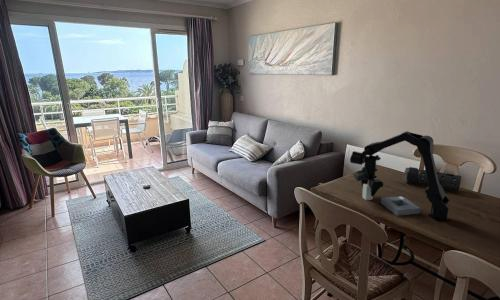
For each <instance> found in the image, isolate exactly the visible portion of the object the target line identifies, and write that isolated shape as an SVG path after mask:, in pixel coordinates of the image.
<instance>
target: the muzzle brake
mask: <svg viewBox="0 0 500 300" xmlns="http://www.w3.org/2000/svg"><path fill="white" fill-rule="evenodd" d="M437 176H438V180H439V183H440V185H441V186H442V188H443V190H444V191H448V192H453V193H458V192H460V188H461V183H462V175H458V174H452V173H447V172H440V171H437ZM403 181H406V182H408V183H410V184H411V183H412V184H415V185H417V186H427V187H428V186H429V184H428V179H427V175H426V170H425V169H422V168H421V169H419V168H417V167H413V166H409V167H405V169H404V172H403Z"/></svg>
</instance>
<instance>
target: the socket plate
mask: <svg viewBox="0 0 500 300" xmlns="http://www.w3.org/2000/svg"><path fill="white" fill-rule="evenodd" d="M380 199H381V201H380V203H381V205H382V206H384V207H385V208H386V209H388V210H389V211H390V212H392V213H393V214H394V215H395V216H398V217H399V216H407V215H409V216H410V215H419V214H420V213H421V207H419V206H418V205H416V204H415V203H413V201H412V202H411V200H409V199H408V198H406V197H405V196H402V195H400V196H390V197H381V198H380Z"/></svg>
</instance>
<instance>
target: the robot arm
mask: <svg viewBox="0 0 500 300" xmlns="http://www.w3.org/2000/svg"><path fill="white" fill-rule="evenodd" d="M402 142H407V143H408V144H410V145H413V146H415V147H416V148H417V150H418V152H419V154H420V156H422V161H423V164H424V165H423V166H424V170H426V175H427V179H428V184H429V186H427V187H426V188H425V189H424V192H425V194H426V197H425V198H426V199H428V201H429V203H431V209H430V213H427V215H428V216H429V217H430V218H432V219H433V220H435V221H436V222H442V221H443V222H444V221H450V218H449V217H448V212H449V207H448V205H449V204H450V202H451V200H450V199H449V197H448V196H447V195H446V192H445V190H443V188H442V186H441V185H440V183H439V180H438V176H437V172H438V171H437V167H436V162H435V159H434V139H433V137H432V136H430V135H422V134H418V133H414V132H411V131H404V132H402V133H400V134H397V135H394V136H392V137H390V138H387V139H385V140H382V141H376V142H371V143H369V144H368V145H366V146H364V150H363V151H362V152H359V151H352V153H351V156H350V158H349V162H350V164H354V165H359V166H362V165H363V164H364V166H363V167H362V168H361V170H357V171H355V172H354V173H352V174H353V178H354V180H356V181H357V182H360V183H361V187H362V189H363V184H369V187H370V188H371V196H373V197H374V196H375V195H376V194H377V192H378V191H379V189H381V188H383V187H384V182H383V181H382V180H381V179H378V178H377V177H378V176H377V175H376V172H378V169H377V167H376V166H377V162H378V161H380V160H381V156H379V155H378V154H377V153H378V152H380V151H382V150H384V149H387V148H388V147H392V146H394V145H397V144H401V143H402ZM375 154H376V155H375Z"/></svg>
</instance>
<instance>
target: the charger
mask: <svg viewBox="0 0 500 300" xmlns="http://www.w3.org/2000/svg"><path fill="white" fill-rule="evenodd" d="M361 194H362V195H361V197H362V198H363V199H364V200H365V201H371V200H373V199H374V196H371V188H370V187H369V183H367V184H363V188H362V193H361Z"/></svg>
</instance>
